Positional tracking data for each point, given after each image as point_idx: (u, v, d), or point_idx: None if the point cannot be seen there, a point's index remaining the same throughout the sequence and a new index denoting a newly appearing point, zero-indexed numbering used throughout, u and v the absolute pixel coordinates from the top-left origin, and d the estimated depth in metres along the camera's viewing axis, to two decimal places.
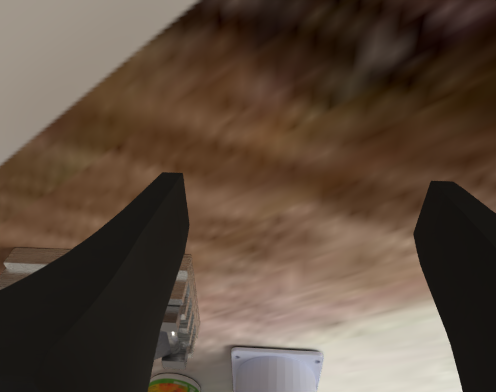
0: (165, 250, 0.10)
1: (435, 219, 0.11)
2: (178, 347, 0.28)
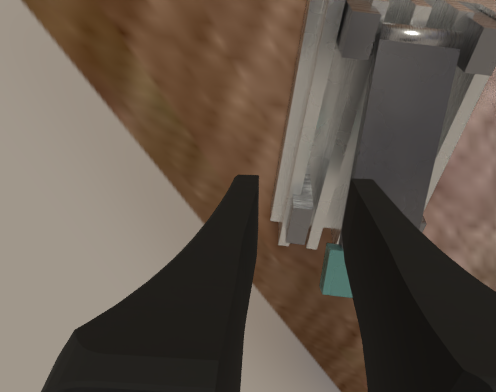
0: (250, 254, 0.10)
1: (352, 216, 0.11)
2: (452, 32, 0.14)
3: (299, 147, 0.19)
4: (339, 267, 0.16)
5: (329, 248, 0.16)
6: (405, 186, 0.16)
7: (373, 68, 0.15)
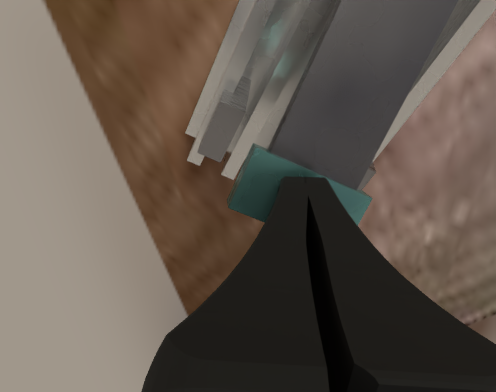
0: None
1: None
2: None
3: (250, 17, 0.13)
4: (261, 176, 0.12)
5: (255, 147, 0.12)
6: (377, 89, 0.11)
7: None
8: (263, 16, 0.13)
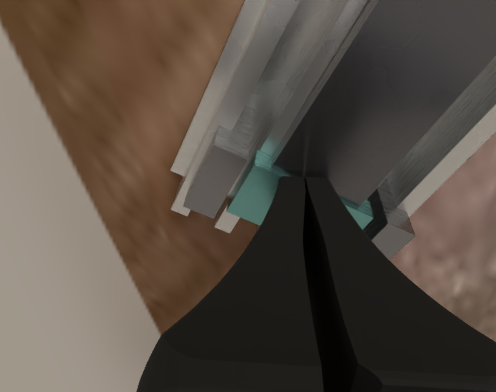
0: None
1: (305, 214, 0.11)
2: None
3: (256, 34, 0.10)
4: (259, 189, 0.12)
5: (255, 161, 0.11)
6: (397, 117, 0.10)
7: None
8: (274, 33, 0.10)
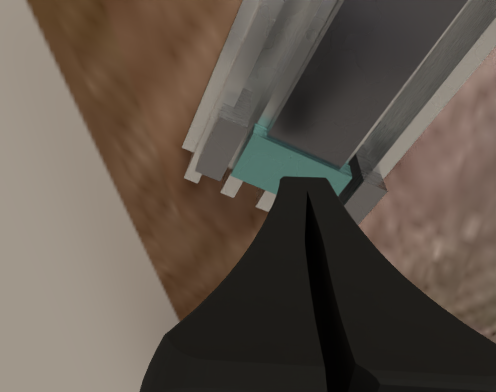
0: None
1: None
2: None
3: (252, 26, 0.12)
4: (257, 155, 0.14)
5: (253, 131, 0.14)
6: (365, 90, 0.13)
7: None
8: (266, 25, 0.12)
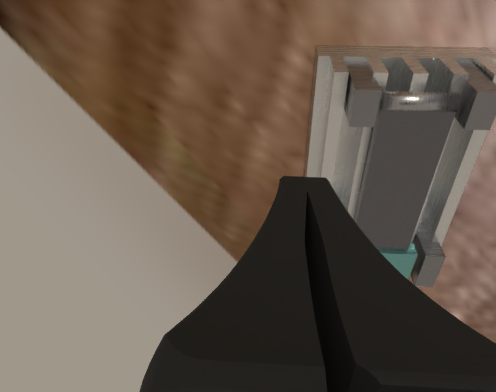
0: None
1: None
2: (449, 99, 0.16)
3: None
4: None
5: None
6: (402, 209, 0.20)
7: (376, 130, 0.17)
8: None
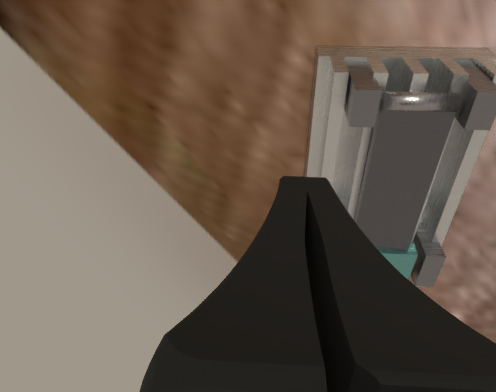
0: None
1: None
2: (449, 99, 0.16)
3: None
4: None
5: None
6: (402, 209, 0.20)
7: (376, 131, 0.17)
8: None
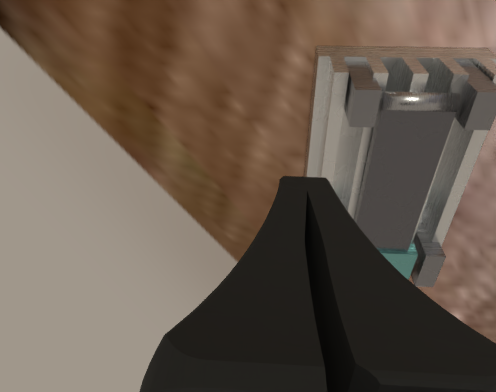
0: None
1: None
2: (449, 99, 0.16)
3: None
4: None
5: None
6: (402, 209, 0.20)
7: (376, 131, 0.17)
8: None
